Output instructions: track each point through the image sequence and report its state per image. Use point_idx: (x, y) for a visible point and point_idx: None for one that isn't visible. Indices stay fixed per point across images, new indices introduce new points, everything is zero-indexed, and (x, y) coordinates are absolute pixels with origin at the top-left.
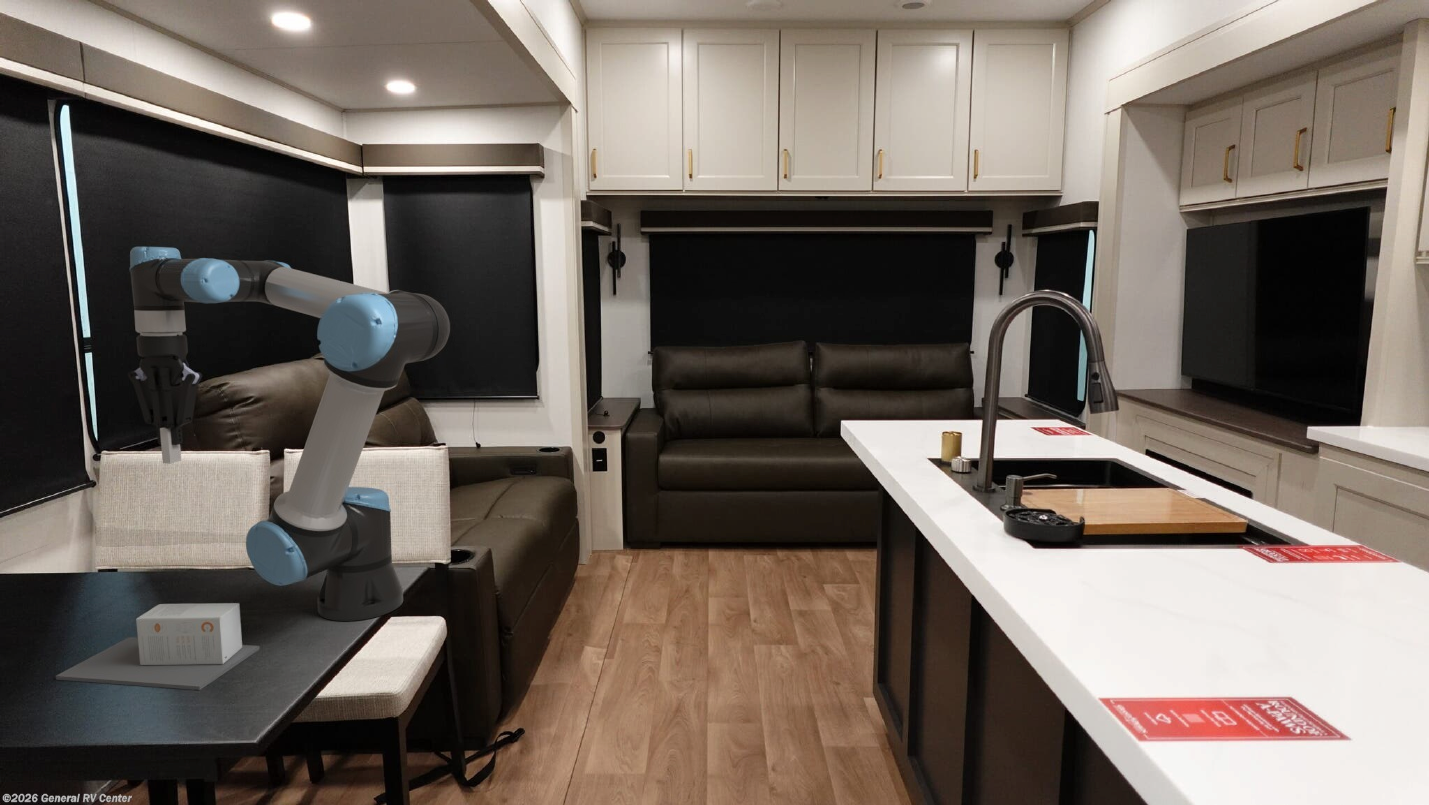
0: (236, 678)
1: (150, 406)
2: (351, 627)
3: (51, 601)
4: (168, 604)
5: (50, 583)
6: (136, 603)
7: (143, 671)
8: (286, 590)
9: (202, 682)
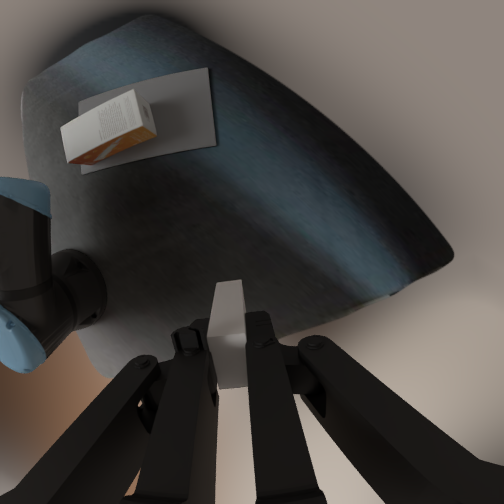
0: None
1: (334, 408)
2: None
3: (385, 210)
4: (130, 128)
5: (421, 249)
6: (299, 228)
7: None
8: (167, 305)
9: (80, 107)
